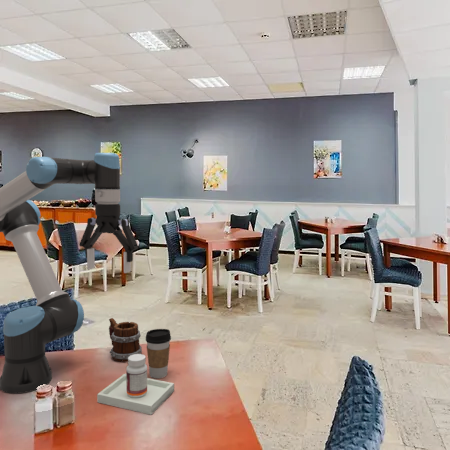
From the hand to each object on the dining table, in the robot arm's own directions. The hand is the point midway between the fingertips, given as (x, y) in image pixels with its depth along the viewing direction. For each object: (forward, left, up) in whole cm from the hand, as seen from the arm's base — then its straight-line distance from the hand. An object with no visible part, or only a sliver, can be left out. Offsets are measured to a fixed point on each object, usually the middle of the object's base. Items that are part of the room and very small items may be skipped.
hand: (108, 270), depth 127 cm
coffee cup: (+12, +10, -37) cm, 40 cm away
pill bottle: (+13, -5, -36) cm, 38 cm away
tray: (+13, -5, -37) cm, 39 cm away
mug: (-8, +19, -37) cm, 42 cm away
